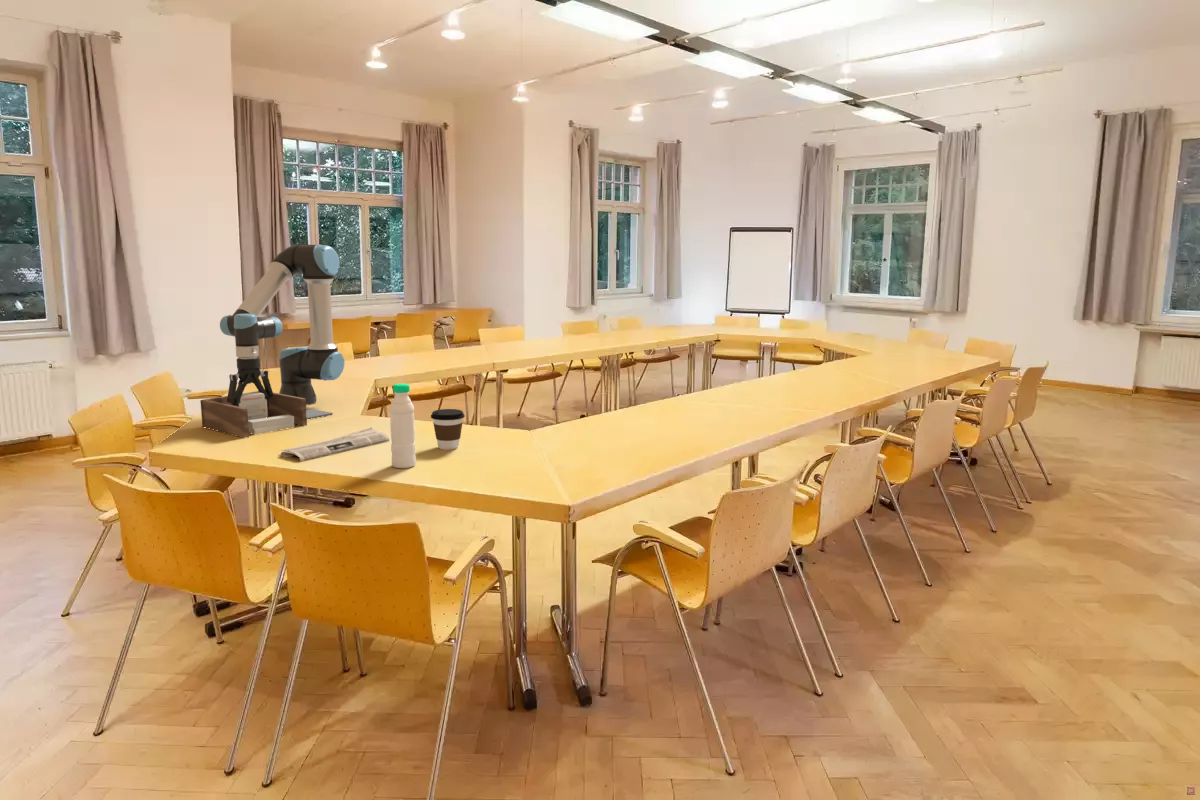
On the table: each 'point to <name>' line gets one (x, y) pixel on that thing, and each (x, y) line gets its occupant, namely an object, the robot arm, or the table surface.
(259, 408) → the ink box
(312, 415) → the grey mat
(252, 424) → the upper offcut
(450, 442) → the coffee cup
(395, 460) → the water bottle
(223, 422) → the walnut open-sided box
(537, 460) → the table surface
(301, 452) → the newspaper
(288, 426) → the lower offcut
